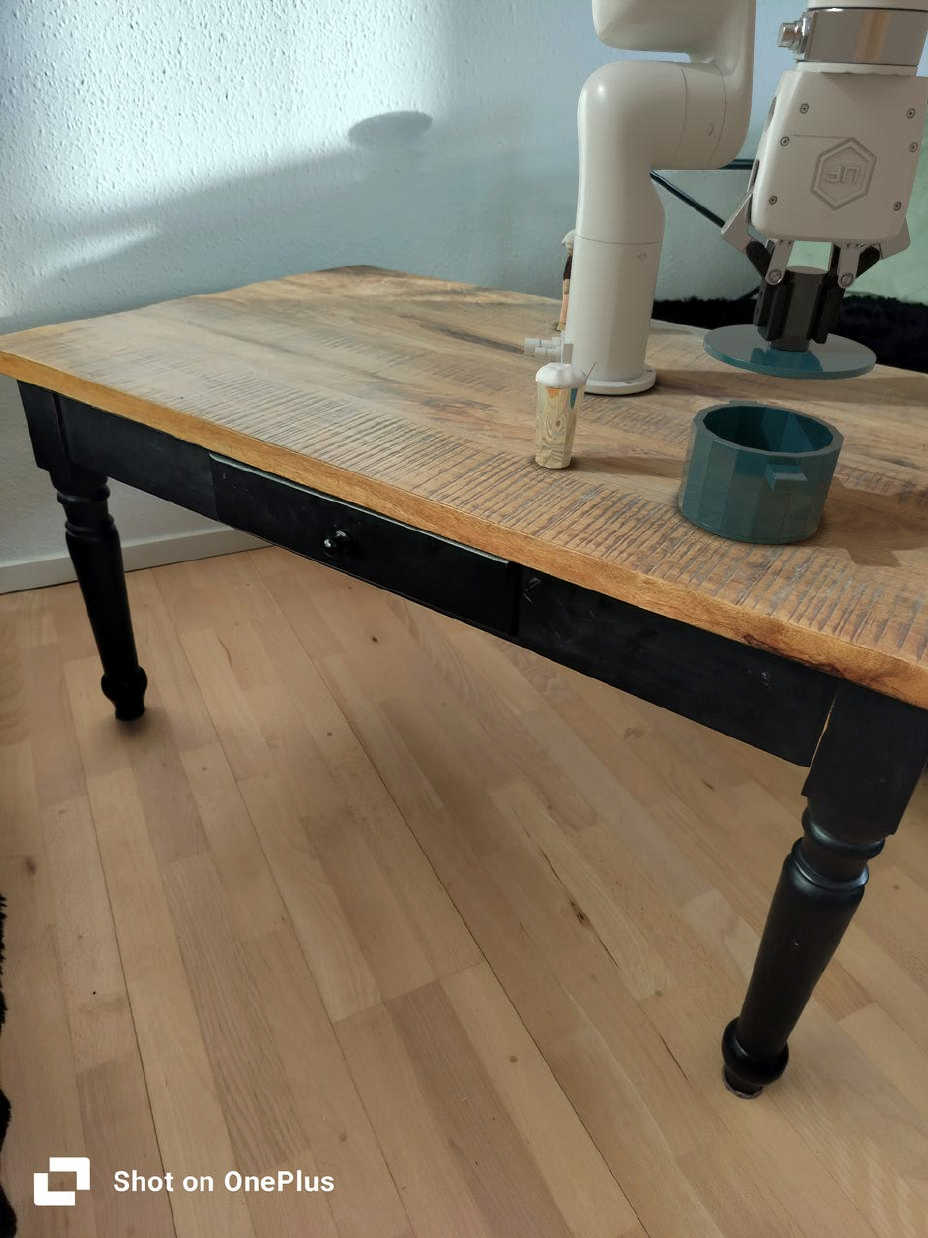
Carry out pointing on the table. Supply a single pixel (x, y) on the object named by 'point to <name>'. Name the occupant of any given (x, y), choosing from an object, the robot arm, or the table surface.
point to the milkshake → (558, 412)
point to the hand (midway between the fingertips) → (790, 335)
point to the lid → (792, 339)
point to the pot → (758, 472)
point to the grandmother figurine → (566, 278)
